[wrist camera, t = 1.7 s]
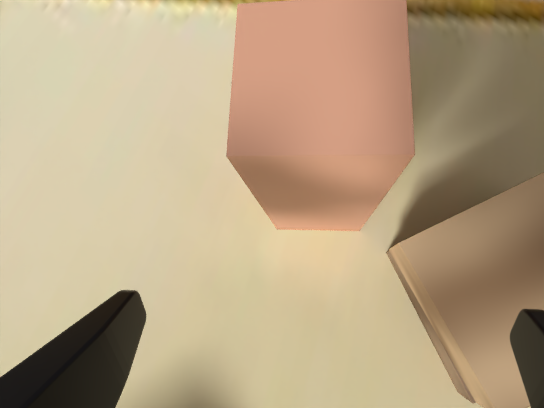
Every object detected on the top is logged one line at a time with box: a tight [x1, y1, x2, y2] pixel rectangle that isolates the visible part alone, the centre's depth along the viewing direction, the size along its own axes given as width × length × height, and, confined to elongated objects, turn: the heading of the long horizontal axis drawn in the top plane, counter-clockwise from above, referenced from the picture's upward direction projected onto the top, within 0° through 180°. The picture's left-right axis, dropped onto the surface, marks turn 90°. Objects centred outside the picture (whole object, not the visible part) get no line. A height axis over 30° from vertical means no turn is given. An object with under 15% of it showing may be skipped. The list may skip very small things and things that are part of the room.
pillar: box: [226, 0, 415, 231], centre depth 16 cm, size 5×5×12 cm
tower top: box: [389, 172, 544, 408], centre depth 16 cm, size 8×8×2 cm
